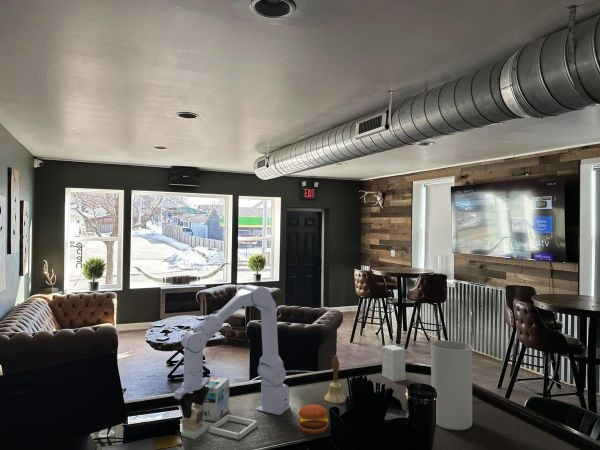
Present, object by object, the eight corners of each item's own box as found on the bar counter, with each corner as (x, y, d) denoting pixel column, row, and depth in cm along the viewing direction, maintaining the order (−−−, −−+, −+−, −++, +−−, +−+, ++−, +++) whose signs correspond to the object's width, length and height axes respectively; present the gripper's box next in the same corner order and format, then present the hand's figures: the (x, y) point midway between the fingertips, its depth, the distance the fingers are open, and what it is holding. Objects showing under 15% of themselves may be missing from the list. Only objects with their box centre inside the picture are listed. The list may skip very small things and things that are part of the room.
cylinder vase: (473, 434, 129) (472, 351, 130) (430, 427, 134) (430, 347, 134) (471, 417, 141) (471, 342, 142) (432, 412, 146) (432, 339, 146)
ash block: (195, 430, 129) (196, 410, 129) (182, 426, 131) (182, 407, 131) (203, 425, 132) (204, 405, 133) (190, 422, 134) (191, 403, 135)
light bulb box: (217, 422, 137) (218, 388, 138) (198, 420, 139) (198, 386, 139) (229, 408, 148) (229, 377, 148) (211, 407, 149) (211, 376, 149)
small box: (405, 380, 178) (405, 348, 179) (393, 382, 176) (393, 350, 176) (393, 374, 186) (393, 344, 186) (381, 376, 183) (381, 345, 183)
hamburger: (330, 433, 130) (330, 411, 130) (299, 435, 129) (299, 413, 129) (326, 420, 139) (326, 399, 139) (296, 421, 138) (296, 401, 138)
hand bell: (351, 400, 156) (351, 356, 156) (333, 405, 151) (333, 360, 152) (336, 393, 163) (337, 351, 163) (319, 398, 158) (319, 354, 158)
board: (213, 426, 134) (213, 423, 134) (194, 438, 126) (194, 435, 126) (190, 421, 138) (190, 418, 138) (171, 432, 129) (171, 429, 129)
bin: (257, 425, 134) (257, 421, 134) (239, 439, 125) (239, 434, 125) (227, 419, 139) (227, 414, 139) (208, 432, 130) (208, 427, 130)
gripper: (198, 362, 140) (197, 403, 140) (166, 375, 127) (166, 420, 127) (215, 365, 137) (215, 407, 137) (185, 378, 124) (184, 425, 124)
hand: (192, 414), depth 132 cm, fingers open, 5 cm apart
